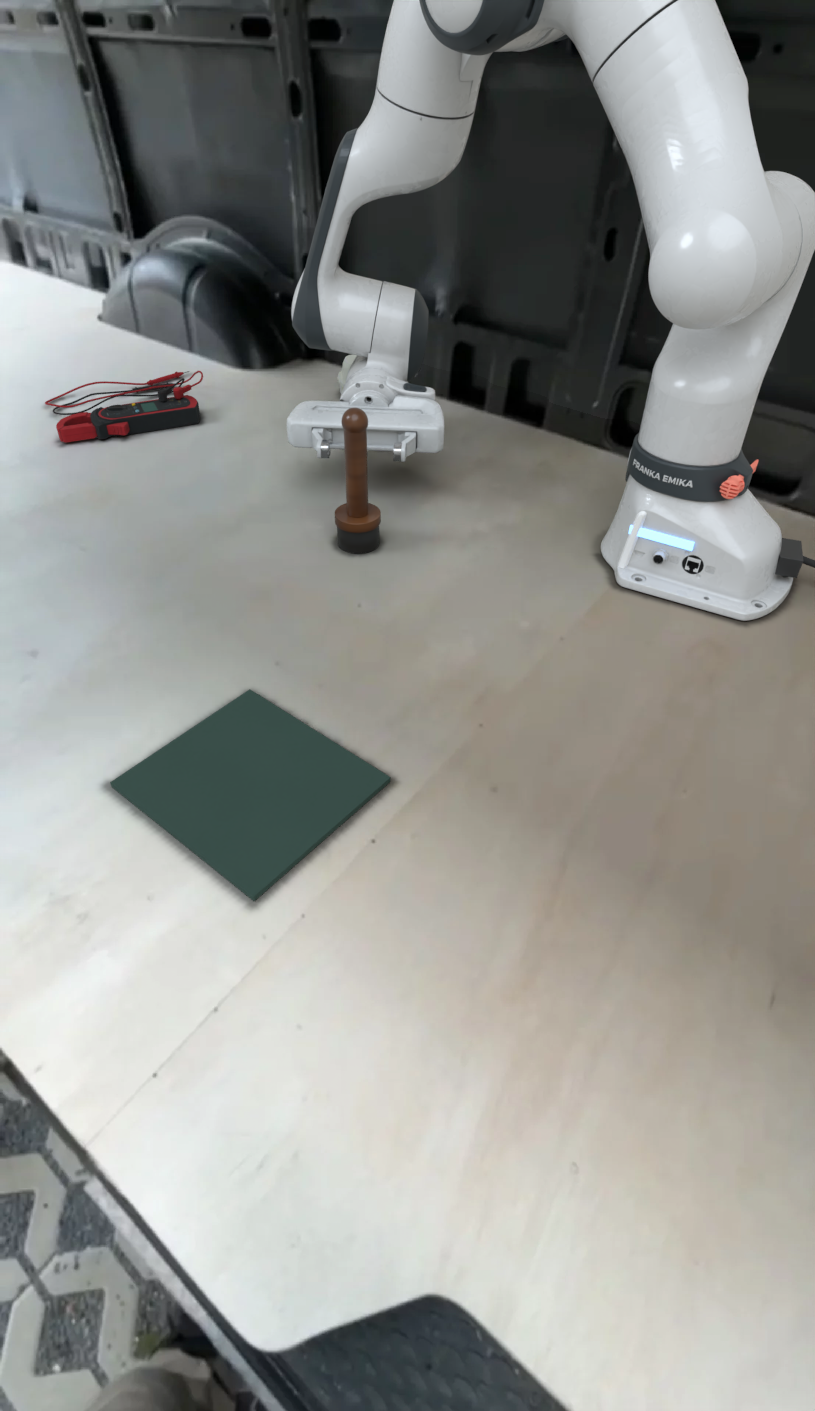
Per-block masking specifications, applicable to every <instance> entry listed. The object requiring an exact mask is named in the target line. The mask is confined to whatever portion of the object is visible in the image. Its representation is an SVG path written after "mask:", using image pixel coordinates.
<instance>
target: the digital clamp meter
mask: <svg viewBox="0 0 815 1411" xmlns="http://www.w3.org/2000/svg"><path fill="white" fill-rule="evenodd" d="M189 372H191V371H190V370H187V371H174V373H171V374H167V375H164V376H159V377H157V378H153V379H149V380H147V381H146V382H124V381H107V380H106V381H105V380H103V381H94V382H93V381H92V382H88V383H85V384H83V385H79V386H77V387H75V388H72V389H70V390H68V391H66V392H64V393H61V394H59V395H57V396H54V397H52V398H50V399H48V400H45V402H44V404H45V405H46V406H52V407H54V408H53V409H52V413H53V414H55V415H59V416H65V417H63V418H61V419H60V420H59V421H58V422H57V423H56V425H55V428H56V431H57V434H58V438H59V441H60V442H61V443H66V444H67V443H72V442H73V443H74V442H80V441H86V440H91V439H95V438H97V439H98V440H107V439H108V438H111V437H122V436H129V435H135V434H143V433H149V432H154V431H162V430H166V429H174V428H179V427H185V426H191V425H198V424H199V422H200V421H201V412H200V405H199V402H198V400H197V398H196V397H194V396H192V395H189V394H185V393H188V392H189V391H191V390H192V388H194V387H195V386H197V385H199V384H201V383H202V381H203V380H204V373H203V371H202V370H197V371H194V373H193V374H192V375H191V376H190V377H188V379H186V380H185V378H180V377H182V376H183V375H184V374H188V373H189ZM197 374H200V375H201V376H200V379H199V380H198V381H197V382H196V383H193V384H186V383H188V382H189V381H190V380H192V379H193V378H194V376H196V375H197ZM173 379H179V380H178V381H176V382H174V383H173V382H167V381H170V380H173ZM163 382H166V383H163ZM159 383H160V384H159ZM97 384H112V385H113V384H116V385H129V386H130V385H131V386H135V387H134V388H131V389H127V390H116V391H103V392H94V393H90V394H86V395H85V396H82V397H80V398H78V399H76V400H74V401H71V402H68V403H63V404H61V405H60V404H54V403H51V402H52V401H55V400H57V399H60V398H62V397H64V396H66V395H69V394H71V393H73V392H75V391H77V390H80V389H82V388H85V387H88V386H93V385H97ZM183 384H186V385H184V386H183ZM137 386H140V387H137ZM156 390H158V391H157V393H156V394H155V393H154V394H138V393H142V392H149V391H156ZM133 393H136V394H133ZM170 394H173V396H170V397H168V396H169V395H170ZM97 395H105V396H100V397H95V398H92V399H87V400H85V399H86V398H90V397H93V396H97ZM118 397H140V398H141V397H158V398H156V399H149V400H143V401H136V402H130V403H123V404H113V405H109V406H105V407H102V406H100V407H97V406H99V405H101V404H103V403H105V402H106V401H109V400H112V399H115V398H118ZM82 400H84V401H82ZM99 400H100V402H98V403H95V404H94V405H92V406H91V407H88V408H86V409H83V410H80V411H75V412H62V413H61V412H57V411H56V410H57V409H60V408H63V409H65V408H67V409H69V408H75V407H78V406H82V405H84V404H87V403H91V402H94V401H99ZM80 401H82V402H80ZM78 402H79V403H78ZM95 407H97V408H95ZM94 408H95V409H94ZM92 409H94V410H92ZM90 410H92V411H91V412H89V411H90Z"/></svg>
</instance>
